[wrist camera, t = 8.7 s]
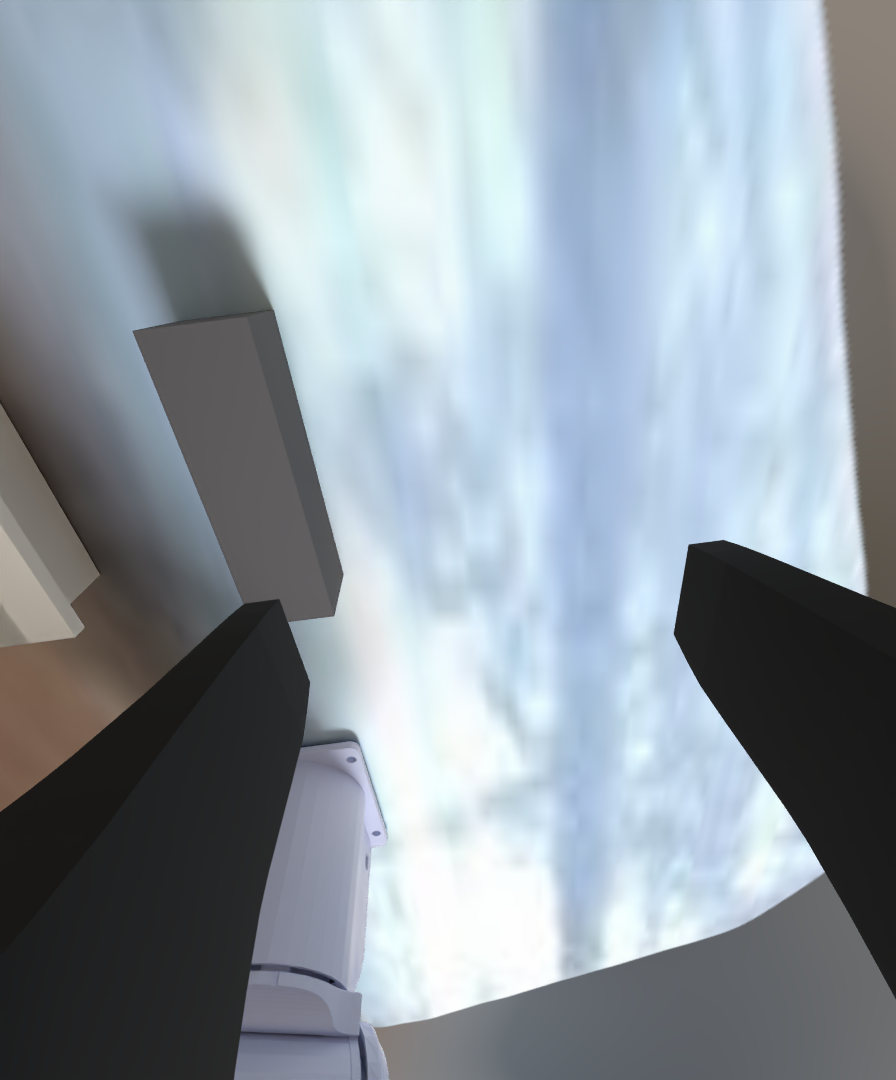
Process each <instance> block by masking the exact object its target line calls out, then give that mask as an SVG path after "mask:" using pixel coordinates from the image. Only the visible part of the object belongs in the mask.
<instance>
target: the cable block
mask: <svg viewBox="0 0 896 1080" xmlns="http://www.w3.org/2000/svg"><path fill="white" fill-rule="evenodd" d="M133 334H134V336H135V339H136V341H137V344H138V346H139V348H140V351H141V353H142V356H143V358H144V361H145V363H146V366H147V368H148V370H149V373H150V375H151V378H152V380H153V383H154V385H155V388H156V390H157V393H158V395H159V397H160V400H161V402H162V405H163V407H164V410H165V412H166V415H167V417H168V420H169V422H170V424H171V427H172V429H173V432H174V434H175V437H176V439H177V442H178V444H179V447H180V449H181V451H182V454H183V456H184V459H185V461H186V464H187V466H188V469H189V471H190V474H191V476H192V478H193V481H194V483H195V486H196V488H197V491H198V493H199V496H200V498H201V501H202V503H203V505H204V508H205V510H206V513H207V515H208V518H209V520H210V523H211V525H212V528H213V530H214V532H215V535H216V537H217V540H218V542H219V545H220V547H221V550H222V552H223V555H224V557H225V559H226V562H227V564H228V567H229V569H230V572H231V574H232V577H233V579H234V582H235V584H236V586H237V589H238V591H239V594H240V596H241V599H242V601H243V604H245V603H252V602H260V601H267V600H275V599H280V602H281V605H282V607H283V610H284V613H285V616H286V618H287V621H288V622H291V621H299V620H307V619H315V618H323V617H330V616H334V614H335V610H336V606H337V601H338V597H339V592H340V588H341V583H342V579H343V571H342V567H341V563H340V559H339V556H338V552H337V548H336V544H335V541H334V537H333V533H332V529H331V525H330V522H329V518H328V514H327V510H326V506H325V503H324V499H323V495H322V491H321V488H320V484H319V480H318V476H317V472H316V469H315V465H314V461H313V457H312V453H311V450H310V446H309V442H308V438H307V434H306V431H305V427H304V423H303V419H302V416H301V412H300V408H299V404H298V400H297V397H296V393H295V389H294V385H293V381H292V378H291V374H290V370H289V366H288V362H287V359H286V355H285V351H284V347H283V344H282V340H281V336H280V332H279V328H278V325H277V321H276V317H275V313H274V310H267V311H259V312H251V313H243V314H235V315H227V316H219V317H211V318H203V319H195V320H187V321H179V322H174V323H169V324H164V325H159V326H154V327H149V328H145V329H140V330H135V331H133Z"/></svg>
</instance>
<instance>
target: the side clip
mask: <svg viewBox="0 0 896 1080" xmlns="http://www.w3.org/2000/svg"><path fill="white" fill-rule="evenodd" d="M99 576H100V574H99V572H98V570H97V569H96V567H95V565H94V563H93V562H92V560H91V558H90V557H89V555H88V553H87V551H86V550H85V548H84V546H83V544H82V543H81V541H80V539H79V538H78V536H77V534H76V532H75V531H74V529H73V527H72V526H71V524H70V522H69V520H68V519H67V517H66V515H65V514H64V512H63V510H62V508H61V507H60V505H59V503H58V501H57V500H56V498H55V496H54V495H53V493H52V491H51V489H50V488H49V486H48V484H47V483H46V481H45V479H44V477H43V476H42V474H41V472H40V471H39V469H38V467H37V465H36V464H35V462H34V460H33V459H32V457H31V455H30V453H29V452H28V450H27V448H26V446H25V445H24V443H23V441H22V440H21V438H20V436H19V434H18V433H17V431H16V429H15V428H14V426H13V424H12V422H11V421H10V419H9V417H8V416H7V414H6V412H5V410H4V409H3V407H2V405H1V404H0V647H6V646H14V645H22V644H29V643H37V642H44V641H52V640H60V639H67V638H75V637H76V636H77V635H78V634H79V633H80V632H81V631H82V630H83V629H84V628H85V627H84V625H83V624H82V622H81V621H80V619H79V618H78V616H77V614H76V613H75V611H74V610H73V608H72V607H71V605H70V604H71V603H72V602H73V601H74V600H75V599H76V598H77V597H78V596H79V595H80V594H81V593H82V592H83V591H84V590H85V589H86V588H87V587H88V586H89V585H90V584H91V583H92V582H93V581H94V580H95V579H96V578H98V577H99Z"/></svg>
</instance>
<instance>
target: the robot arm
mask: <svg viewBox="0 0 896 1080" xmlns="http://www.w3.org/2000/svg"><path fill="white" fill-rule="evenodd" d="M674 636H675V638H676V640H677V642H678V644H679V646H680V648H681V650H682V652H683V654H684V656H685V658H686V660H687V662H688V664H689V666H690V668H691V669H692V671H693V673H694V675H695V677H696V679H697V681H698V682H699V684H700V686H701V687H702V689H703V690H704V692H705V693H706V695H707V696H708V698H709V699H710V701H711V702H712V703H713V705H714V706H715V708H716V709H717V711H718V712H719V714H720V715H721V716H722V718H723V719H724V721H725V722H726V724H727V725H728V727H729V728H730V729H731V731H732V732H733V734H734V735H735V737H736V738H737V739H738V741H739V742H740V744H741V745H742V746H743V748H744V749H745V751H746V752H747V754H748V755H749V756H750V758H751V759H752V761H753V762H754V764H755V765H756V766H757V768H758V769H759V771H760V772H761V774H762V775H763V776H764V778H765V779H766V781H767V782H768V783H769V785H770V786H771V788H772V789H773V791H774V792H775V793H776V795H777V796H778V798H779V799H780V801H781V802H782V803H783V805H784V806H785V808H786V809H787V811H788V812H789V814H790V815H791V817H792V818H793V820H794V822H795V823H796V825H797V826H798V828H799V829H800V831H801V832H802V834H803V835H804V837H805V838H806V840H807V842H808V843H809V845H810V847H811V849H812V850H813V852H814V854H815V856H816V857H817V859H818V861H819V862H820V864H821V866H822V868H823V869H824V871H825V873H826V874H827V876H828V878H829V880H830V881H831V883H832V885H833V887H834V888H835V890H836V892H837V894H838V895H839V897H840V898H841V900H842V902H843V904H844V906H845V907H846V909H847V911H848V913H849V914H850V916H851V918H852V920H853V922H854V923H855V925H856V927H857V929H858V931H859V933H860V934H861V936H862V938H863V940H864V942H865V944H866V945H867V947H868V949H869V951H870V953H871V955H872V956H873V958H874V960H875V962H876V964H877V965H878V967H879V969H880V971H881V973H882V975H883V976H884V978H885V980H886V982H887V984H888V986H889V987H890V989H891V991H892V993H893V995H894V996H895V998H896V608H894V607H892V606H889V605H887V604H884V603H882V602H879V601H877V600H874V599H872V598H869V597H867V596H864V595H862V594H859V593H857V592H854V591H852V590H850V589H847V588H845V587H842V586H840V585H837V584H835V583H832V582H830V581H828V580H825V579H823V578H820V577H818V576H816V575H813V574H811V573H808V572H806V571H803V570H801V569H799V568H796V567H794V566H791V565H789V564H786V563H784V562H782V561H779V560H777V559H774V558H772V557H769V556H767V555H764V554H762V553H759V552H756V551H754V550H751V549H749V548H746V547H743V546H740V545H737V544H734V543H731V542H728V541H725V540H720V541H713V542H705V543H698V544H690V545H689V546H688V552H687V558H686V564H685V570H684V576H683V582H682V588H681V594H680V600H679V605H678V611H677V617H676V623H675V629H674ZM309 687H310V681H309V679H308V676H307V673H306V670H305V668H304V665H303V662H302V659H301V657H300V654H299V651H298V648H297V646H296V643H295V640H294V637H293V635H292V632H291V629H290V627H289V624H288V621H287V618H286V616H285V613H284V610H283V607H282V605H281V602H280V599H275V600H267V601H260V602H252V603H245V604H244V605H242V606H241V607H240V608H239V609H237V610H236V611H235V612H234V613H233V614H231V615H230V616H229V617H228V618H227V619H226V620H225V621H224V622H222V623H221V624H220V625H219V626H218V627H217V628H216V629H215V630H214V631H213V632H211V633H210V634H209V635H208V636H207V637H206V638H205V639H204V640H203V641H202V642H201V643H200V644H198V645H197V646H196V647H195V648H194V649H193V650H192V651H191V652H190V653H189V654H188V655H187V656H186V657H184V658H183V659H182V660H181V661H180V662H179V663H178V664H177V665H176V666H175V667H174V668H172V669H171V670H170V671H169V672H168V673H167V674H166V675H165V676H164V677H163V678H162V679H160V680H159V681H158V682H157V683H156V684H155V685H154V686H153V687H152V688H151V689H150V690H148V691H147V692H146V693H145V694H144V695H143V696H142V697H141V698H139V699H138V700H137V701H136V702H135V703H134V704H132V705H131V706H130V707H129V708H128V709H127V710H125V711H124V712H123V713H122V714H121V715H120V716H118V717H117V718H116V719H115V720H114V721H113V722H111V723H110V724H109V725H108V726H107V727H106V728H104V729H103V730H102V731H101V732H100V733H99V734H97V735H96V736H95V737H94V738H93V739H92V740H90V741H89V742H88V743H87V744H86V745H85V746H83V747H82V748H81V749H80V750H79V751H78V752H76V753H75V754H74V755H73V756H72V757H70V758H69V759H68V760H67V761H65V762H64V763H63V764H62V765H60V766H59V767H58V768H57V769H55V770H54V771H53V772H52V773H50V774H49V775H48V776H47V777H45V778H44V779H43V780H42V781H40V782H39V783H38V784H36V785H35V786H34V787H33V788H31V789H30V790H29V791H28V792H26V793H25V794H24V795H22V796H21V797H20V798H18V799H17V800H16V801H14V802H13V803H12V804H10V805H9V806H8V807H6V808H5V809H4V810H2V811H1V812H0V1080H389V1075H388V1068H387V1062H386V1058H385V1054H384V1051H383V1049H382V1047H381V1045H380V1043H379V1041H378V1038H377V1035H376V1032H375V1030H374V1028H373V1027H372V1025H371V1024H368V1023H366V1022H361V1023H360V1016H361V1001H362V994H361V993H359V992H354V991H355V989H356V986H357V984H358V981H359V978H360V975H361V971H362V966H363V960H364V949H365V934H366V920H367V905H368V890H369V876H370V861H371V848H373V847H381V846H384V845H386V844H387V842H388V834H387V831H386V828H385V825H384V822H383V819H382V816H381V812H380V809H379V806H378V803H377V800H376V797H375V794H374V790H373V787H372V784H371V781H370V778H369V775H368V771H367V768H366V765H365V762H364V759H363V756H362V753H361V749H360V746H359V745H358V744H357V743H355V742H352V741H348V742H340V743H333V744H325V745H318V746H310V747H303V748H301V745H302V740H303V736H304V728H305V721H306V714H307V705H308V696H309Z"/></svg>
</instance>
